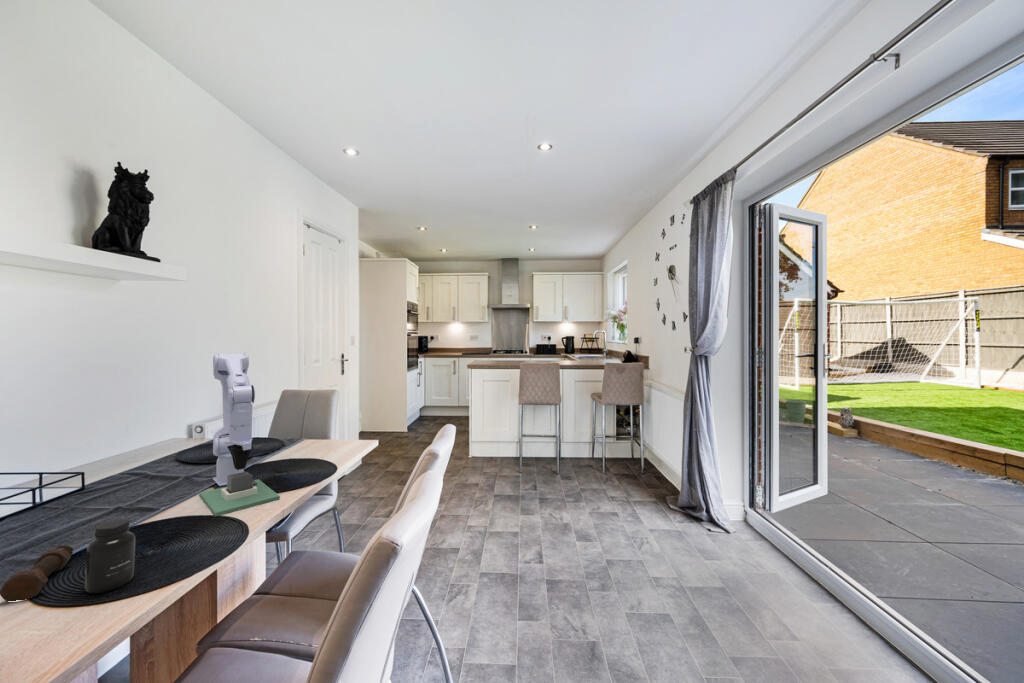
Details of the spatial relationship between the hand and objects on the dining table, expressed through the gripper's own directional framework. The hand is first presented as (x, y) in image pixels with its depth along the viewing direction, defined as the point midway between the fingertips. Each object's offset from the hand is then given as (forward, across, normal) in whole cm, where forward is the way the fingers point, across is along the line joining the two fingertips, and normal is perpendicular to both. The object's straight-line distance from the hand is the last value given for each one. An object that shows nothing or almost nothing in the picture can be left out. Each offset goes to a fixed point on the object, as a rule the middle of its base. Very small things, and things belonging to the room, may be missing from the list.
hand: (239, 468), depth 118 cm
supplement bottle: (+9, +30, -29) cm, 43 cm away
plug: (+8, 0, 0) cm, 8 cm away
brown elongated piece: (+9, +18, -38) cm, 43 cm away
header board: (+9, 0, 0) cm, 9 cm away
